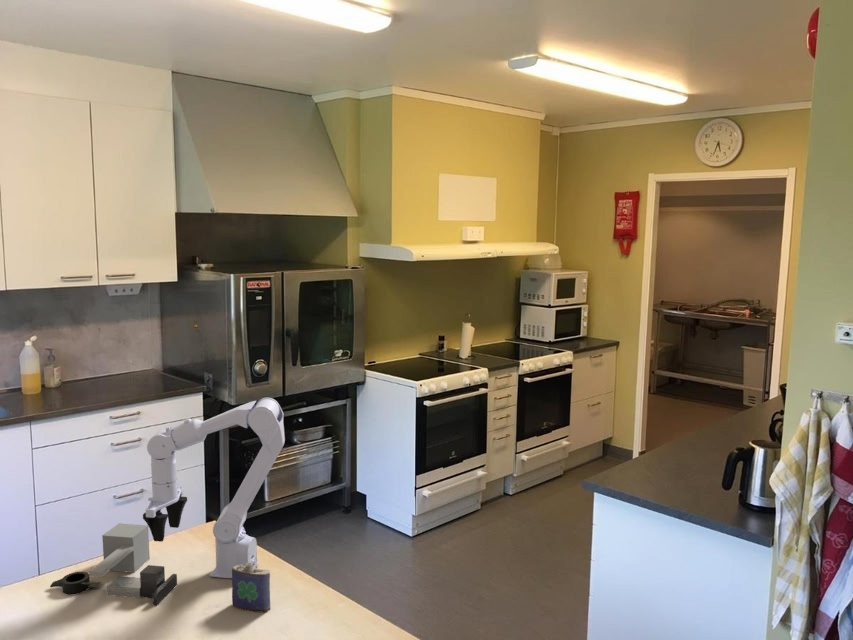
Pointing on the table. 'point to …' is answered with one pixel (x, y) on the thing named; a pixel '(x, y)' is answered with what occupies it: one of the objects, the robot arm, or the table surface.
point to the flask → (250, 588)
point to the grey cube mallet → (123, 549)
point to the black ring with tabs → (74, 583)
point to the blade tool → (144, 584)
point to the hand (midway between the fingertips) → (166, 533)
